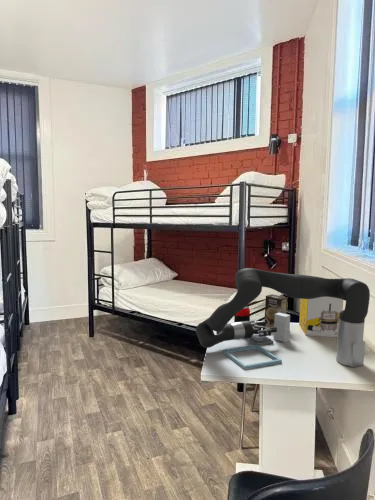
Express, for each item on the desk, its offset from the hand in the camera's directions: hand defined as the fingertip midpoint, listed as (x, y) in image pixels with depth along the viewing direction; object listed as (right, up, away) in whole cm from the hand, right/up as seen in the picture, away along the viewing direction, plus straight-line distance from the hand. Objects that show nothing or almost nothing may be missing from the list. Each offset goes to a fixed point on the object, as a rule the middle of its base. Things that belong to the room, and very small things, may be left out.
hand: (270, 326), depth 166 cm
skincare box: (+6, -7, +3) cm, 10 cm away
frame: (-12, -9, -18) cm, 23 cm away
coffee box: (+7, -5, +21) cm, 23 cm away
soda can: (-11, -5, +15) cm, 19 cm away
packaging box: (+28, -6, +17) cm, 33 cm away
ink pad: (-5, -7, 0) cm, 9 cm away
